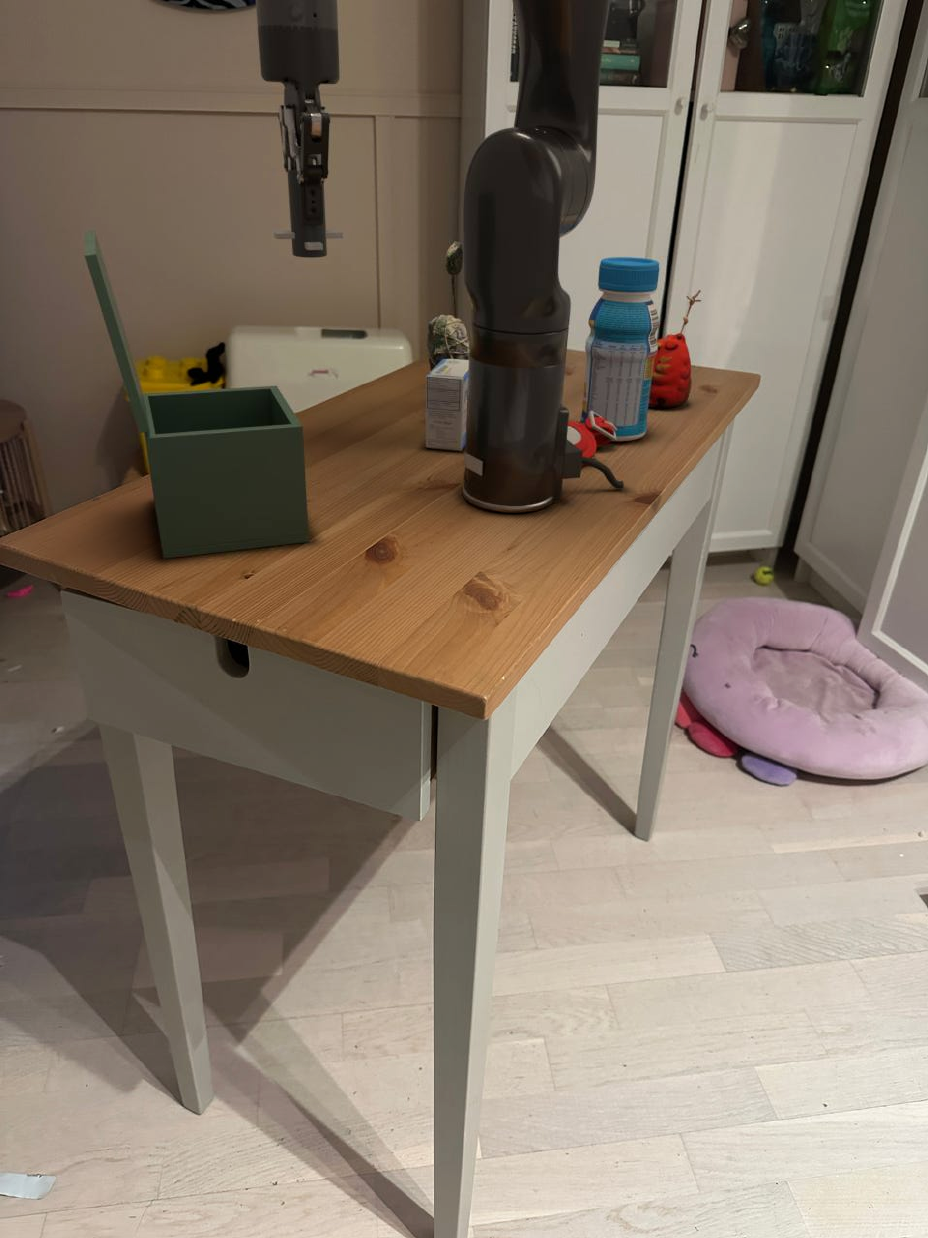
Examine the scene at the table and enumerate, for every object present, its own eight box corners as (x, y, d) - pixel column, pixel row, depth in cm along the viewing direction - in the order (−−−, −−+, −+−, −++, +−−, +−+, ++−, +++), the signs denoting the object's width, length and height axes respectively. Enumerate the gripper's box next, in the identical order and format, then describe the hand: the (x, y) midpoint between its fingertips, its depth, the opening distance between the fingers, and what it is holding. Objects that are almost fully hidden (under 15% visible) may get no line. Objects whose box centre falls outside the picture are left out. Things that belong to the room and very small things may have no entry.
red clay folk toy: (634, 393, 126) (649, 282, 118) (684, 396, 125) (703, 285, 118) (638, 409, 119) (654, 292, 112) (691, 412, 119) (711, 295, 111)
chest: (284, 490, 90) (276, 385, 85) (309, 542, 80) (302, 425, 75) (154, 503, 86) (138, 393, 81) (163, 559, 76) (145, 437, 71)
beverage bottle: (601, 446, 105) (618, 266, 95) (565, 427, 112) (578, 256, 102) (660, 438, 108) (683, 263, 98) (622, 420, 115) (640, 254, 105)
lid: (94, 230, 73) (84, 231, 73) (95, 253, 63) (84, 255, 63) (141, 387, 81) (132, 389, 80) (149, 431, 71) (139, 433, 70)
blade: (335, 250, 97) (332, 168, 93) (348, 258, 92) (346, 173, 88) (271, 251, 95) (265, 167, 91) (281, 259, 90) (275, 172, 86)
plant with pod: (405, 411, 115) (406, 245, 104) (454, 392, 123) (459, 236, 113) (457, 424, 111) (463, 253, 101) (504, 403, 119) (514, 243, 109)
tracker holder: (581, 466, 96) (503, 428, 99) (572, 497, 99) (497, 459, 102) (629, 415, 103) (555, 381, 106) (619, 446, 107) (548, 412, 109)
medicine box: (461, 452, 102) (464, 377, 98) (424, 448, 103) (425, 373, 98) (474, 431, 109) (478, 360, 104) (439, 428, 109) (441, 356, 105)
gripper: (354, 22, 79) (360, 231, 88) (321, 30, 90) (328, 214, 99) (270, 16, 77) (284, 231, 85) (246, 26, 88) (261, 215, 97)
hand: (308, 221), depth 92 cm, fingers closed on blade, 3 cm apart
